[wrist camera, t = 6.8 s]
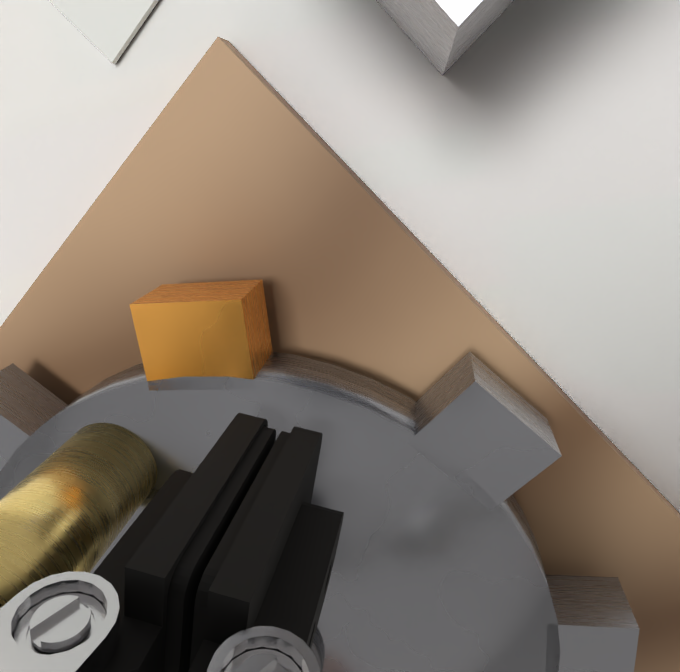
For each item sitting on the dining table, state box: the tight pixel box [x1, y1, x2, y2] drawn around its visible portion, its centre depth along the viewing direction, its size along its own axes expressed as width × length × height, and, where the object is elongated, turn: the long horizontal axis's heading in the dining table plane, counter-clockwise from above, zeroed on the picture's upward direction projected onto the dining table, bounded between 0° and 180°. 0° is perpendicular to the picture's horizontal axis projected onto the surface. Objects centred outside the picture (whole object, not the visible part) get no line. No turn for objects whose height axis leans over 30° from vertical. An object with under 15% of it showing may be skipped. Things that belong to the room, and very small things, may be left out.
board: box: [0, 37, 680, 672], centre depth 15 cm, size 19×18×1 cm
